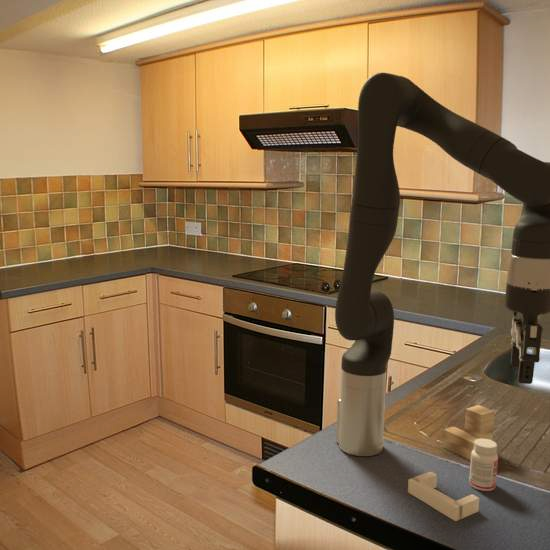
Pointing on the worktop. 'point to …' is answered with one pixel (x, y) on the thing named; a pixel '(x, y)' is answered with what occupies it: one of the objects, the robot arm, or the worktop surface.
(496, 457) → the pill bottle
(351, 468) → the worktop surface
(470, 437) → the scraper
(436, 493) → the bay
